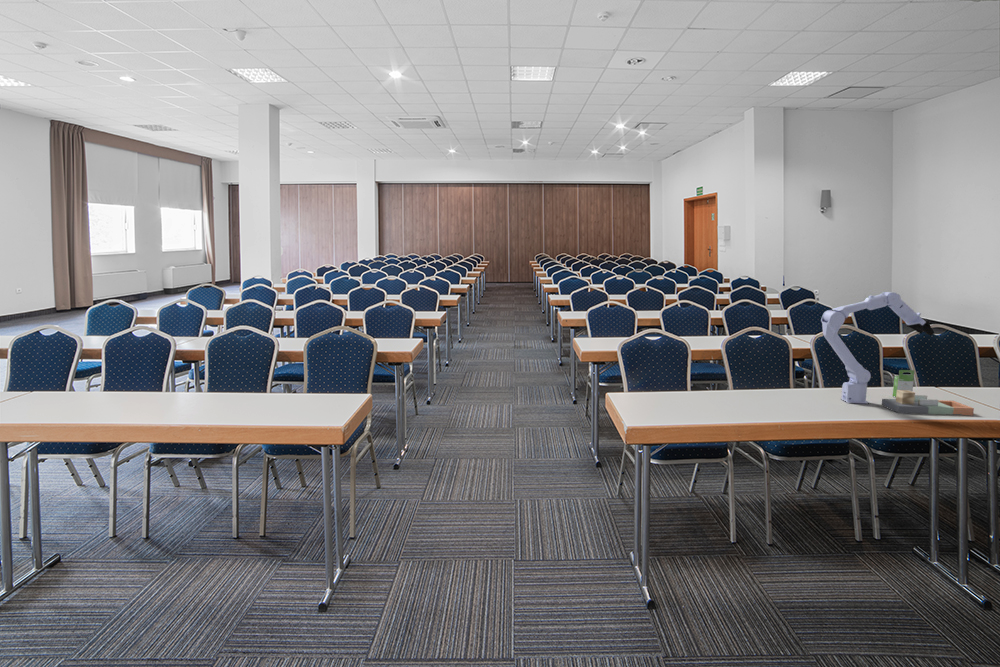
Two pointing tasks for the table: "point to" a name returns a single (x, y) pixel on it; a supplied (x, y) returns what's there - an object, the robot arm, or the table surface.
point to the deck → (929, 407)
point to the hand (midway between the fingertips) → (927, 333)
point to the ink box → (903, 381)
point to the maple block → (905, 397)
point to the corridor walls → (925, 401)
